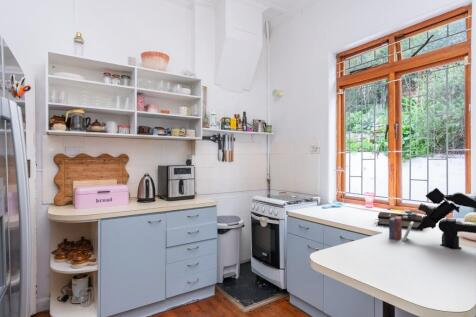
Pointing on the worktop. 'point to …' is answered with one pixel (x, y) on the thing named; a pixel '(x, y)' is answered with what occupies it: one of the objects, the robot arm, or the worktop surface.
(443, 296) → the worktop surface
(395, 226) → the book row
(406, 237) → the bookend
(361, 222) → the worktop surface
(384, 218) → the decorative book
